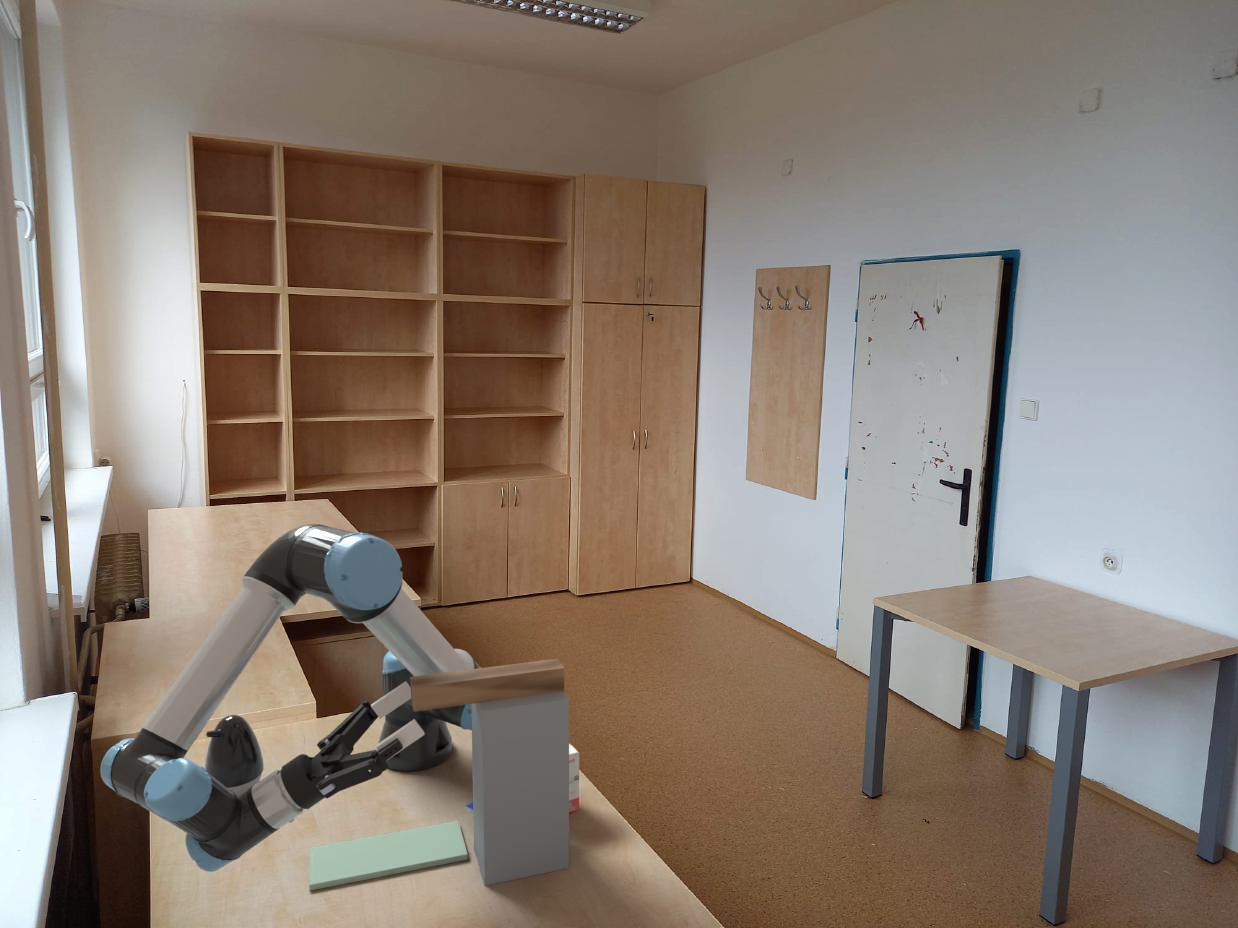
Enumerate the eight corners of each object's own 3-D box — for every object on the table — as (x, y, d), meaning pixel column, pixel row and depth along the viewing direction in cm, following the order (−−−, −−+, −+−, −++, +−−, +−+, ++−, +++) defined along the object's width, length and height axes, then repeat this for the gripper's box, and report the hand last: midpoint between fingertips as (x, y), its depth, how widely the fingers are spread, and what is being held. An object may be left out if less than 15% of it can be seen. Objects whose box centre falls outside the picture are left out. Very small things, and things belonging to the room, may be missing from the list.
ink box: (569, 797, 162) (569, 739, 160) (580, 810, 158) (580, 751, 155) (526, 809, 158) (526, 750, 156) (537, 823, 153) (537, 762, 151)
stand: (473, 848, 146) (471, 684, 141) (553, 833, 150) (553, 673, 145) (484, 885, 137) (482, 711, 131) (568, 867, 141) (569, 698, 136)
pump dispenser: (193, 797, 160) (187, 722, 157) (238, 771, 169) (233, 699, 167) (232, 811, 156) (226, 734, 153) (276, 783, 165) (272, 710, 162)
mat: (310, 852, 144) (309, 847, 144) (458, 825, 152) (458, 820, 152) (309, 890, 135) (309, 884, 135) (467, 859, 143) (467, 853, 143)
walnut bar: (411, 700, 135) (410, 676, 134) (557, 680, 142) (557, 658, 142) (413, 711, 131) (413, 687, 130) (564, 691, 139) (564, 667, 138)
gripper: (308, 765, 141) (419, 690, 145) (305, 855, 118) (438, 763, 122) (281, 732, 139) (395, 657, 143) (273, 818, 115) (409, 725, 119)
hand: (415, 706), depth 132 cm, fingers open, 13 cm apart
